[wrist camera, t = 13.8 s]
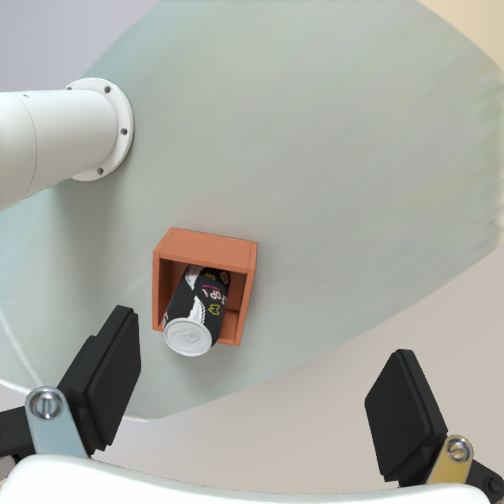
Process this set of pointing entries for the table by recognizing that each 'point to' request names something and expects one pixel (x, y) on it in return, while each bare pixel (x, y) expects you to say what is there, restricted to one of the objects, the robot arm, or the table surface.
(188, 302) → the beverage can
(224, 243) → the bin
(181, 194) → the table surface
